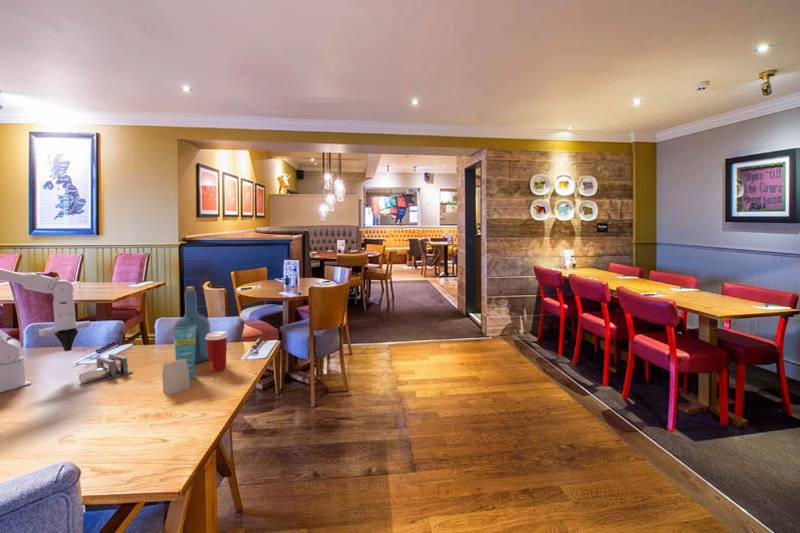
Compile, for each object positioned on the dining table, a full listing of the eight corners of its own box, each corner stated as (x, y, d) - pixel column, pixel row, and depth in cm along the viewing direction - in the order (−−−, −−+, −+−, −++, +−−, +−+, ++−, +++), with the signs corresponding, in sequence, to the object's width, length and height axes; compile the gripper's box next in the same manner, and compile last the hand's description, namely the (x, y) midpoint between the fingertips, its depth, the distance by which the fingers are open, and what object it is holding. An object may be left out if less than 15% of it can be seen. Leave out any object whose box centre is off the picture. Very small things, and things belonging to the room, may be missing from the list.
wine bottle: (196, 366, 151) (192, 290, 148) (167, 364, 154) (162, 289, 151) (219, 355, 165) (216, 285, 161) (192, 353, 167) (188, 283, 164)
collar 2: (121, 376, 141) (120, 359, 140) (105, 371, 146) (103, 355, 145) (132, 373, 144) (131, 356, 144) (115, 368, 149) (114, 352, 148)
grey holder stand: (109, 380, 137) (108, 363, 137) (92, 374, 142) (91, 358, 142) (120, 376, 141) (119, 360, 140) (103, 371, 146) (102, 355, 145)
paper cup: (232, 366, 152) (231, 331, 150) (221, 373, 144) (220, 336, 143) (213, 365, 153) (212, 330, 151) (202, 372, 145) (200, 336, 144)
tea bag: (189, 388, 131) (188, 359, 130) (167, 395, 126) (166, 365, 125) (184, 385, 134) (183, 357, 133) (163, 392, 128) (161, 362, 127)
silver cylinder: (83, 385, 134) (84, 376, 133) (78, 381, 135) (79, 372, 135) (127, 372, 146) (128, 363, 145) (122, 368, 148) (123, 359, 147)
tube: (176, 382, 136) (173, 329, 134) (175, 378, 140) (172, 326, 138) (199, 378, 140) (197, 326, 138) (198, 374, 144) (195, 323, 142)
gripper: (44, 319, 131) (47, 358, 132) (93, 310, 144) (96, 346, 145) (34, 316, 134) (38, 354, 135) (83, 308, 147) (86, 343, 148)
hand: (67, 350), depth 141 cm, fingers closed
